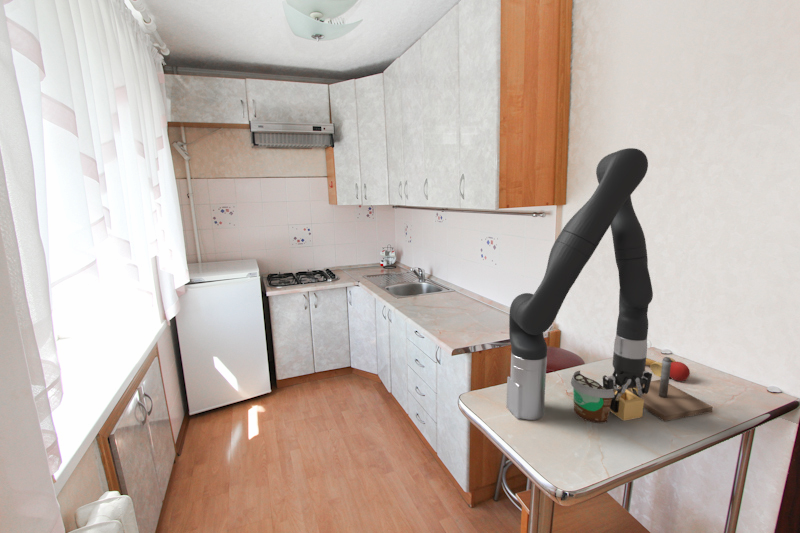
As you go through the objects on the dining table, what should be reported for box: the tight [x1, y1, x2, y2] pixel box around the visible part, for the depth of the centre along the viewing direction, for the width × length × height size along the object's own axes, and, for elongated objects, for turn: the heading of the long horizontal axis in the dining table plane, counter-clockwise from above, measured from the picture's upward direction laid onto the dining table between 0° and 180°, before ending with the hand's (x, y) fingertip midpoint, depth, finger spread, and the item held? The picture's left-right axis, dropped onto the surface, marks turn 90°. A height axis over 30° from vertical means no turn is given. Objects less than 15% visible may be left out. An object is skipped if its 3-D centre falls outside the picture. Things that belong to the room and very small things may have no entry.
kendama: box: [645, 356, 691, 382], centre depth 127 cm, size 8×6×18 cm
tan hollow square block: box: [609, 389, 644, 421], centre depth 105 cm, size 6×6×5 cm
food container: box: [570, 370, 614, 424], centre depth 104 cm, size 12×6×10 cm, turn 19°
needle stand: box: [617, 356, 714, 422], centre depth 109 cm, size 16×16×14 cm
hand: (624, 409), depth 105 cm, fingers closed on tan hollow square block, 6 cm apart
